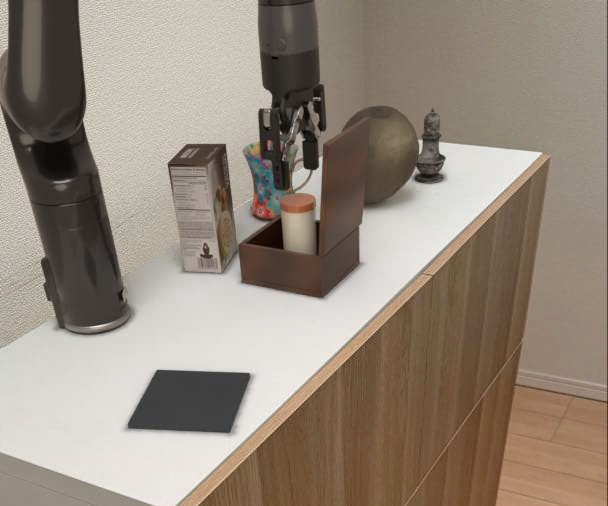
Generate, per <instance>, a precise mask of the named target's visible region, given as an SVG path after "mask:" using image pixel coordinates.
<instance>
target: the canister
mask: <svg viewBox="0 0 608 506" xmlns="http://www.w3.org/2000/svg"><path fill="white" fill-rule="evenodd" d="M279 202H280V209H281V221H282V236H283V250H287V251H293V252H298V253H304V254H310V255H316V256H317V236H316V220H317V213H316V211H317V210H316V207H317V198H316V196H315V195H313V194H310V193H306V192H295V193H293V194H288V195H285V196H283V197H282V198H280V200H279Z"/></svg>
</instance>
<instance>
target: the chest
mask: <svg viewBox="0 0 608 506" xmlns="http://www.w3.org/2000/svg"><path fill="white" fill-rule="evenodd" d="M319 228H320V219H316V236H317V256H316V255H310V254H304V253H298V252H293V251H287V250H283V236H282V221H281V214H280V215H279V216H277V217H276V218H274V219H271V220H270V221H269V222H267V223H266V224H264V225H263V226H262V227H261V228H259V229H257V230H256V231H255V232H253V233H252V234H250V235H249V236H248V237H247V238H245V239H243V240H242V241H241V242H239V243H237V247H238V249H237V251H238V257H239V258H238V259H239V268H240V278H241V283H243V284H248V285H252V286H253V285H254V286H258V287H262V288H268V289H274V290H278V291H284V292H288V293H294V294H299V295H303V296H304V295H305V296H308V297H309V296H310V297H315V298H319V299H323V298H324V297H325V296H326V295H328V293H330V292H331V291H332V290H333V289H334V288H335V287H336V286H337V285H338V284H339V283H340V282H341V281H342V280H344V279H345V278H346V277H347V276H348V275H350V273H351V272H352V271H354V270H355V269H356V268H357V267H358V266H359V265H360V226H358V227H357V228H356V229H355V230H354V231H352V232H351V233H350V234H349V235H348V236H346V237H345V238H344V239H343V240H342V241H341V242H339V243H338V244H337V245H336V246H335V247H333V248H332V249H331V250H330V251H329V252H327V253H326V254H325V255H324V256H321V255H318V251H319Z"/></svg>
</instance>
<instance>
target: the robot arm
mask: <svg viewBox="0 0 608 506" xmlns="http://www.w3.org/2000/svg"><path fill="white" fill-rule="evenodd" d="M80 21H81V20H80V0H7V48H6V50H4V52H3V53H2V54H1V55H0V109H1V114H2V117H3V120H4V124H5V127H6V130H7V134H8V137H9V141H10V144H11V147H12V151H13V154H14V157H15V161H16V165H17V168H18V171H19V172H20V175H21V178H22V182H23V184H24V187H25V190H26V194H27V197H28V200H29V204H30V207H31V211H32V215H33V218H34V222H35V225H36V228H37V232H38V235H39V239H40V243H41V245H42V249H43V253H44V256H43V257H42V258H41V260H40V266H41V269H42V274H43V276H44V280H45V282H44V283H43V284H42V286H43V289H44V293H45V297H46V300H47V302H51V304H52V308H53V310H54V314H55V318H56V322H57V326H58V327H59V328H66V329H67V330H68V331H70V332H74V333H78V334H96V333H102V332H106V331H111V330H113V329H116V328H119V326H122V325H123V324H124V323H125V322H127V321H128V319H129V318H130V316H131V310H130V309H131V308H130V305H129V304H128V297H127V296H128V292H129V290H128V287H127V282H125V283H124V279H123V276H122V271H121V268H120V267H121V266H120V263H119V258H118V255H117V249H116V244H115V239H114V235H113V231H112V226H111V221H110V217H109V213H108V212H109V211H108V209H107V208H108V207H107V203H106V199H105V194H104V190H103V185H102V181H101V176H100V170H99V168H98V164H97V162H96V159H95V156H94V154H93V151H92V148H91V146H90V145H91V144H90V142H89V139H88V135H87V131H86V127H85V121H84V119H85V115H86V109H87V103H88V102H87V101H88V100H87V99H88V97H87V87H86V86H87V85H86V78H85V69H84V59H83V48H82V47H83V45H82V34H81V23H80ZM257 35H258V47H259V59H260V71H261V73H260V74H261V84H262V87H263V88H264V89H265V90H266V91H268V92H269V93H270V94H271V105H270V107H269V108H260V107H259V109H258V111H257V118H258V119H257V120H258V131H259V133H258V134H259V142H260V154H261V159H263V160H270V161H271V162H272V171H273V183H274V188H275V189H276V190H282V191H287V190H288V189H289V188H290V173H289V161H287V160H288V156H289V151H290V147H291V145H293V144H294V143H295V144H296V140H297V135H299V134H300V136H301V138H302V139H303V140H302V141H301V144H302V147H301V149H302V158H303V161H302V165H303V168H304V170H308V171H310V170H313V171H316V170H318V169H319V168H320V155H319V152H320V151H319V141H320V140H321V137H322V132H326V130H327V111H326V110H327V109H326V94H325V93H326V92H325V85H324V84H323V83H320V82H321V65H320V39H319V38H320V35H319V19H318V12H317V5H316V0H257ZM317 114H318V117H317ZM268 140H269V141H271V143H270V147H269V150H268ZM281 144H283V148H282V151H281Z"/></svg>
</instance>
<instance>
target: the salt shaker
mask: <svg viewBox="0 0 608 506" xmlns="http://www.w3.org/2000/svg"><path fill="white" fill-rule="evenodd" d="M440 127H441V116H440V115H439V114H438V113H437V112H435V108H434V107H431V109H430V112H429V113H427V114H425V116H424V118H423V132H422V134H421V135H420V138H422V144H421V145H422V146H421V150H420V152H419V156H418V161H417V165H416V168H415V169H416V170H417V171H418V172H419V173H417V174H416V175H415V176H414V180H415V181H416V182H418V183H421V184H434V183H439V182H441V181H443V179H444V176H443V175H442V174H440V173H439V172H440V171H441V170H442V169H443V167H444V165H445V161H446V160H447V157H446V156H445V155H444V154H442V153H440V139H441V137H442V134H441V133H440Z"/></svg>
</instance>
